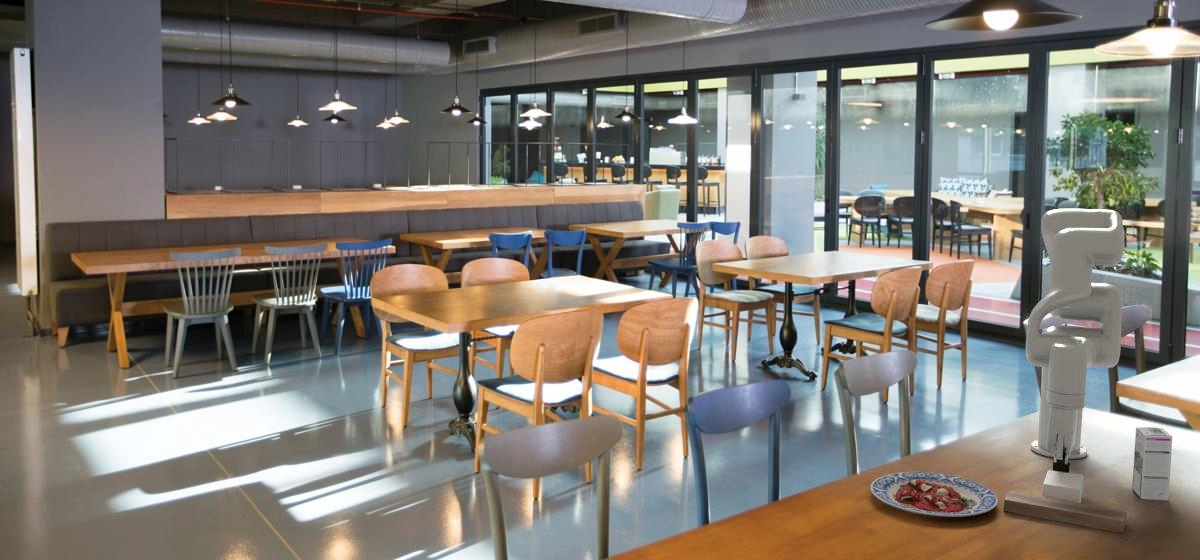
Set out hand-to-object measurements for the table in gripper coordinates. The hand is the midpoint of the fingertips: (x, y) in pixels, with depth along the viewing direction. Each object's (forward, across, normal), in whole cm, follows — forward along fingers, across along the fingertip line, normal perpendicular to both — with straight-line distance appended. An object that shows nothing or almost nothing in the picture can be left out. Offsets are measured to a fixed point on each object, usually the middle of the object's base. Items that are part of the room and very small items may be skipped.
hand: (1060, 479), depth 212 cm
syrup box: (+2, -6, +17) cm, 18 cm away
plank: (+2, +17, +3) cm, 17 cm away
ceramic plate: (+3, +22, -22) cm, 31 cm away
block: (+3, +7, +1) cm, 8 cm away
